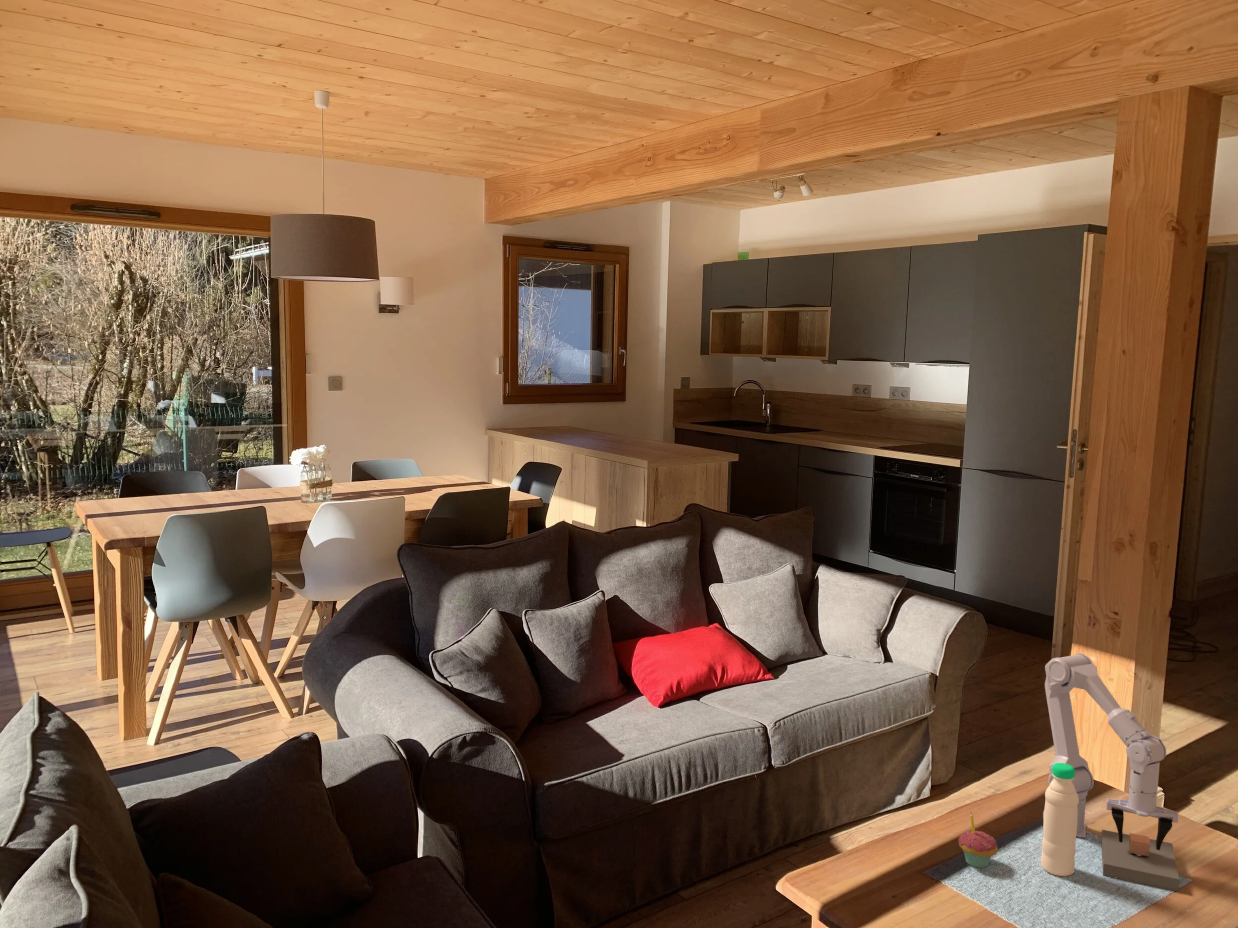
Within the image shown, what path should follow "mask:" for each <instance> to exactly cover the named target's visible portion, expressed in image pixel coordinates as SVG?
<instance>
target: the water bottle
mask: <svg viewBox="0 0 1238 928" xmlns="http://www.w3.org/2000/svg"><path fill="white" fill-rule="evenodd" d="M1052 775H1053V777H1054V779H1053V781H1052V782H1051V783H1050V786H1049V785H1048V787H1047V788H1046V790H1045V793H1044V797H1045V799H1046V801H1044V802H1045V803H1044V810H1043V811H1044V819H1043V829H1042V830H1043V832H1042V833H1043V837H1042V842H1041V848H1042V849H1041V857H1040V858H1041V859H1040V865H1041V867H1042V869H1043V870H1044V871H1046V872H1048V874H1050V875H1054V876H1057V877H1069V876H1071V875H1073V873H1074V872H1075V865H1076V864H1075V863H1076V861H1075V855H1076V846H1077V845H1076V838H1077V836H1076V832H1077V818H1078V808H1077V805H1078V803H1079V797H1078V794H1077V792H1076V790H1075V787H1074V785H1073V783H1072V780H1073V779H1074V776H1075V769H1074V768H1073V767H1072V766H1071V765H1068V764H1065V763H1055V764H1054V765H1053V767H1052Z"/></svg>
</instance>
